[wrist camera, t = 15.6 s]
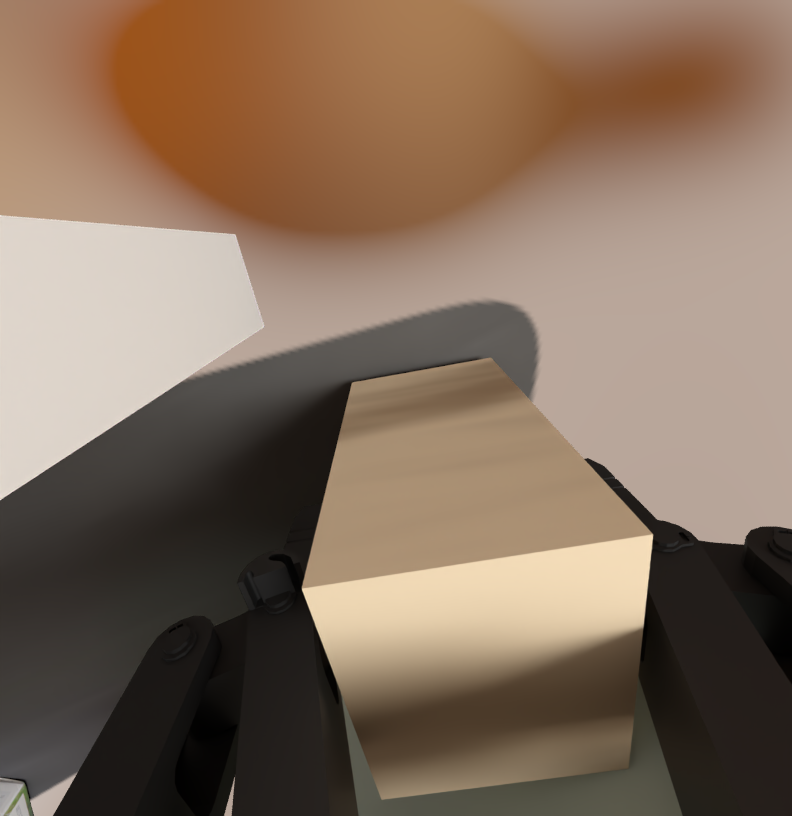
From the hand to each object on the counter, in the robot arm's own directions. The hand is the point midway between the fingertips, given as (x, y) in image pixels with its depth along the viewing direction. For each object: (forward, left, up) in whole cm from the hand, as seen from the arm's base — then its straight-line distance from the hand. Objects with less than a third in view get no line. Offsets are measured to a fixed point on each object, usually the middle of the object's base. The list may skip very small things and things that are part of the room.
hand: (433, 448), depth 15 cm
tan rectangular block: (0, 0, 0) cm, 0 cm away
